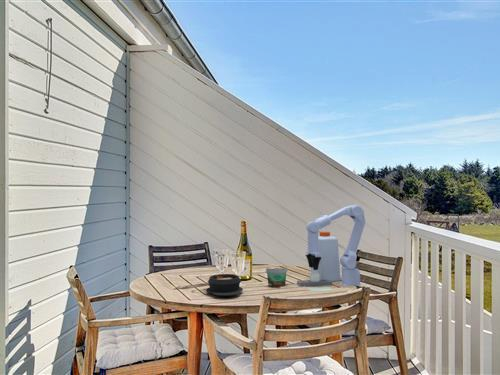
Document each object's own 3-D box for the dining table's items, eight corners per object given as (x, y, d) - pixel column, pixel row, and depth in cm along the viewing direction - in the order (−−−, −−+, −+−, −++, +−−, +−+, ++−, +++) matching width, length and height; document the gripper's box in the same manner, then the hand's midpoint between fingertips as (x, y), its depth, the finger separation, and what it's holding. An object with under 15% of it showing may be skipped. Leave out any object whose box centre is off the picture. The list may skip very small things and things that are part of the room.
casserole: (204, 288, 207) (204, 272, 208) (238, 287, 211) (238, 271, 211) (208, 300, 183) (208, 282, 183) (247, 298, 186) (247, 280, 187)
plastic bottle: (308, 278, 234) (307, 231, 235) (330, 276, 238) (330, 230, 239) (319, 283, 219) (318, 233, 220) (343, 281, 223) (342, 232, 224)
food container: (269, 288, 207) (269, 269, 207) (265, 286, 212) (265, 267, 213) (291, 287, 210) (291, 268, 210) (287, 284, 216) (286, 266, 216)
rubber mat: (328, 287, 208) (328, 286, 208) (334, 291, 200) (334, 290, 200) (307, 288, 206) (307, 287, 206) (311, 292, 198) (311, 291, 198)
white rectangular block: (317, 284, 215) (317, 273, 215) (319, 285, 212) (319, 274, 212) (309, 284, 214) (309, 273, 214) (311, 285, 211) (311, 274, 211)
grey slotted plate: (328, 283, 217) (328, 278, 217) (332, 286, 211) (332, 280, 211) (297, 285, 215) (297, 279, 215) (300, 287, 209) (300, 281, 209)
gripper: (302, 242, 220) (302, 266, 220) (309, 245, 206) (310, 271, 205) (314, 242, 221) (314, 266, 221) (322, 244, 207) (323, 270, 206)
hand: (313, 268), depth 213 cm, fingers open, 7 cm apart
